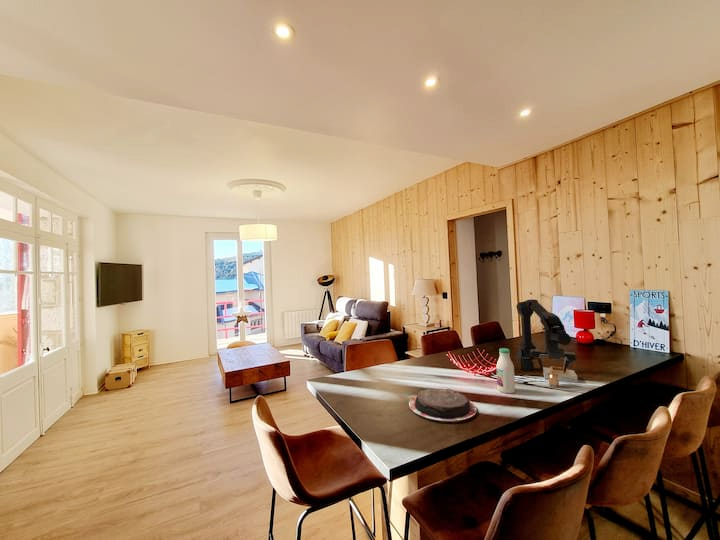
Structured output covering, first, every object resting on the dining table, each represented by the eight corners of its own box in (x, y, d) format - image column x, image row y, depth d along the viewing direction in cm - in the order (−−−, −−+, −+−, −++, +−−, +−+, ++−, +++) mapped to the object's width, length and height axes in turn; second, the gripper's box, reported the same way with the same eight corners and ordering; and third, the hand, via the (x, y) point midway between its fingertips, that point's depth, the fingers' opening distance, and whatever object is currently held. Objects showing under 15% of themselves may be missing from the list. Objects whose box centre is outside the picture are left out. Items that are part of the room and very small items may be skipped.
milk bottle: (514, 388, 141) (512, 347, 142) (515, 394, 134) (513, 351, 135) (497, 386, 145) (495, 346, 145) (497, 392, 138) (495, 350, 138)
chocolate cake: (439, 390, 143) (438, 377, 143) (491, 411, 119) (490, 395, 119) (395, 405, 128) (395, 390, 128) (445, 432, 104) (444, 413, 104)
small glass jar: (549, 386, 143) (549, 374, 143) (548, 384, 146) (548, 372, 147) (559, 388, 141) (558, 375, 141) (558, 385, 144) (557, 373, 145)
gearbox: (545, 379, 153) (544, 370, 153) (543, 373, 162) (542, 365, 162) (577, 383, 146) (577, 373, 147) (573, 377, 155) (573, 368, 155)
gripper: (531, 342, 142) (532, 374, 141) (577, 345, 133) (579, 379, 133) (529, 338, 152) (531, 367, 151) (573, 340, 143) (574, 372, 142)
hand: (553, 371), depth 144 cm, fingers open, 9 cm apart
